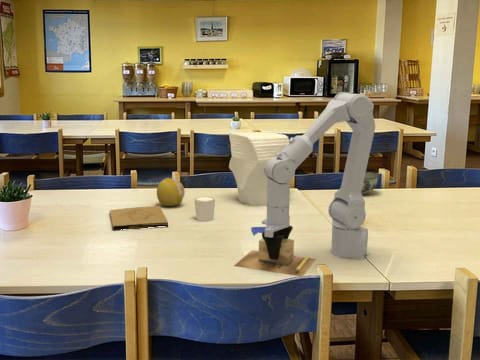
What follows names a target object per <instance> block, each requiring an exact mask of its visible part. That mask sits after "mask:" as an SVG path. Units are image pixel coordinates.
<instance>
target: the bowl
mask: <svg viewBox="0 0 480 360" xmlns="http://www.w3.org/2000/svg"><path fill="white" fill-rule="evenodd" d="M379 177H380V175H379V174H378V173H376V172H370V171H366V173H365V177H364V182H363V187H362V191H361V194H362V196H368V195H369V193H370V192H372V191H373V190H374V189H375V188H376V186H377V184H378V180H379Z"/></svg>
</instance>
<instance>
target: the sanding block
mask: <svg viewBox="0 0 480 360" xmlns="http://www.w3.org/2000/svg"><path fill="white" fill-rule="evenodd" d="M294 249H295V240H294V239H291V238H288V239H284V238H283V240H282V243H281V247H280V253H279V258H278V260H271V259H270V258H269V254H268V250H267V246H266V243H265V241H264V239H263V237H261V238H260V239H259V240H258V251H259V261H260V262H267V263H273V264H280V265H287V266H288V265H289V264H290V263H291V262H292V261H293V256H295V255H294V253H295V251H294Z"/></svg>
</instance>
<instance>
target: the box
mask: <svg viewBox="0 0 480 360" xmlns="http://www.w3.org/2000/svg"><path fill="white" fill-rule="evenodd" d="M109 215H110V223H111V228H112V231H113V232H117V231H120V230H121V229H122V230H121V231H124V230H123V229H134V230H141V229H140V228H148V227H155V228H157V227H156V226H167V227H166V228H169V221H168V220H167V217H166V216H165V214H164V212H163V210H162V208H161V206H160V205H154V206H153V205H151V206H150V205H149V206H139V207H137V206H136V207H127V208H126V207H124V208H118V209H110V210H109Z"/></svg>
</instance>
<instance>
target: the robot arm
mask: <svg viewBox="0 0 480 360" xmlns="http://www.w3.org/2000/svg"><path fill="white" fill-rule="evenodd" d="M374 108H375V106H374V103H373V102H372V100H371V99H370V98H369V97H368V95H366V94H364V93H349V92H346V91H341V92H338V93H337V94H335V96H334V98H333V99H331V100H330V101H328V103H327V106H326V107H325V109H323V111H322V112H321V114H320V115H318V117H317V118H316V119H315V121H313V123H311V125H310V126H309V128H307V130H306V131H305V132H304V133H303V134H302V135H295V136H294V137H292V136H291V137H290V139H289V142H290V143H289V144H288V145H287V146H286V147H285V148H284V149H283V150H282V151H281V152H280V153H279V152H278V153H277V154H276V156H277V158H272V159H270V160H269V161H268V162H267V164H266V167H265V168H264V173H265V175H266V177H267V178H268V182H267V204H266V219H263V220H262V221H261V224H262V225H265V227H266V229H265V231H264V232H263V233H261V238H263V239H264V241H265V243H266V246H267V250H268V254H269V258H270V259H271V260H278V258H279V253H280V247H281V243H282V240H283V238H284V239H289V237H290V235H291V232H292V231H293V226H292V225H291V224H290V222H291V219H290V217H291V216H290V203H291V202H290V200H291V198H290V197H291V195H290V193H291V192H290V191H291V180H293V179H294V178H295V175H296V174H295V173H296V170H297V168H298V167H299V166H300V165H301V164H302V163H303V162H304V161H305V160H306V159H307V158H308V157H309V156H310V155H311V154H312V152H313V151H314V150H313V149H314V144H315V142H317V141H318V140H319V139H320V138H322V137H323V135H324V134H326V133H327V131H329V130H330V129H331V128H332V127H333V126H335V124H337V123H342V122H343V123H344V122H346V123H347V124H348V126H349V128H350V129H351V130H352V133H351V138H350V142H349V147H348V151H347V152H348V153H347V157H346V161H345V167H344V171H343V176H342V180H341V181H342V182H341V185H340V188H339V189H338V190H337V191H336V192H334V195H333V199H332V200H331V202H330V203H329V205H328V214H329V217H330V218H331V219H332V221H331V223H332V227H331V228H332V229H331V246H330V247H331V249H330V252H331V255H333V256H334V257H337V258H342V259H356V260H364V259H365V257H366V256H367V255H368V238H369V230H368V228H366V227H362V225H363V224H364V222H365V221H366V210H365V206H366V201H365V198H364V197H363V196H364V195H362V194H361V191H362V187H363V182H364V177H365V173H366V172H367V167H368V163H369V158H370V153H371V149H372V145H373V139H374V134H375V130H376V123H375V118H374V114H373V113H374Z"/></svg>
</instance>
